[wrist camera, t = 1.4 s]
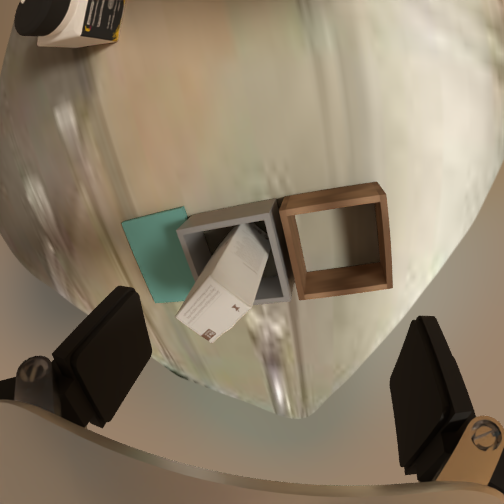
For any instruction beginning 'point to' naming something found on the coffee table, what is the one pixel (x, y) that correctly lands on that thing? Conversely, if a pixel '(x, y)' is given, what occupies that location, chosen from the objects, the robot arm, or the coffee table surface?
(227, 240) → the skincare box
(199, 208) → the coffee table surface
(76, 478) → the robot arm
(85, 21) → the medicine bottle
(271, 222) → the grey bin
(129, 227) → the teal pad
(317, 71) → the coffee table surface
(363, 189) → the walnut bin
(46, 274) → the coffee table surface
